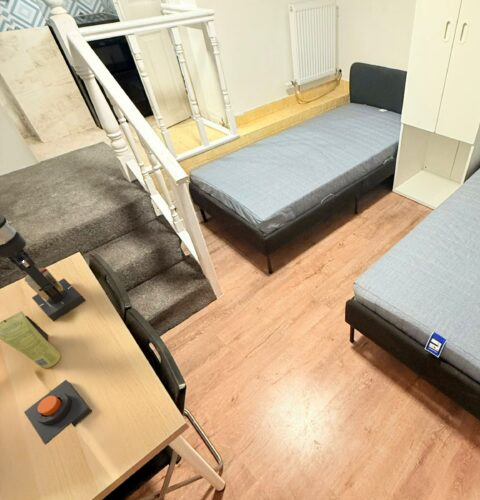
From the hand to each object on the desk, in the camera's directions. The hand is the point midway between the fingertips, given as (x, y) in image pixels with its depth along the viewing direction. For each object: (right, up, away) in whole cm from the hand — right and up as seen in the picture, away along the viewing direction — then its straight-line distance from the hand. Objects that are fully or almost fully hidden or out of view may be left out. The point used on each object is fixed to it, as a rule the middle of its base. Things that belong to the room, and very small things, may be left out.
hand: (49, 289), depth 103 cm
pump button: (+19, -26, -23) cm, 40 cm away
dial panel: (0, -5, +5) cm, 7 cm away
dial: (0, -2, +2) cm, 4 cm away
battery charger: (+3, -16, -7) cm, 18 cm away
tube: (+9, -19, -10) cm, 23 cm away
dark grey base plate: (+19, -28, -20) cm, 40 cm away
